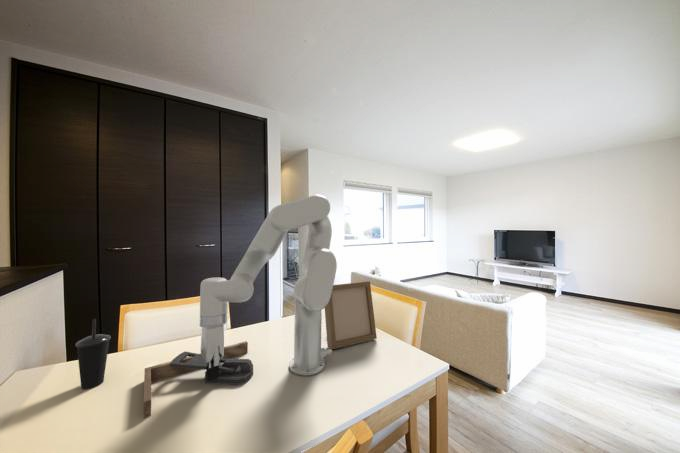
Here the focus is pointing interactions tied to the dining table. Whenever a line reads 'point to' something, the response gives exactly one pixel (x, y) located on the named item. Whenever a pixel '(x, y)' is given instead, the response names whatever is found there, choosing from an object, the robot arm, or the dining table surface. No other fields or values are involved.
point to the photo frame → (350, 315)
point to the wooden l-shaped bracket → (167, 370)
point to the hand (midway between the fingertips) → (212, 378)
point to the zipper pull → (228, 371)
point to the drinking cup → (92, 358)
